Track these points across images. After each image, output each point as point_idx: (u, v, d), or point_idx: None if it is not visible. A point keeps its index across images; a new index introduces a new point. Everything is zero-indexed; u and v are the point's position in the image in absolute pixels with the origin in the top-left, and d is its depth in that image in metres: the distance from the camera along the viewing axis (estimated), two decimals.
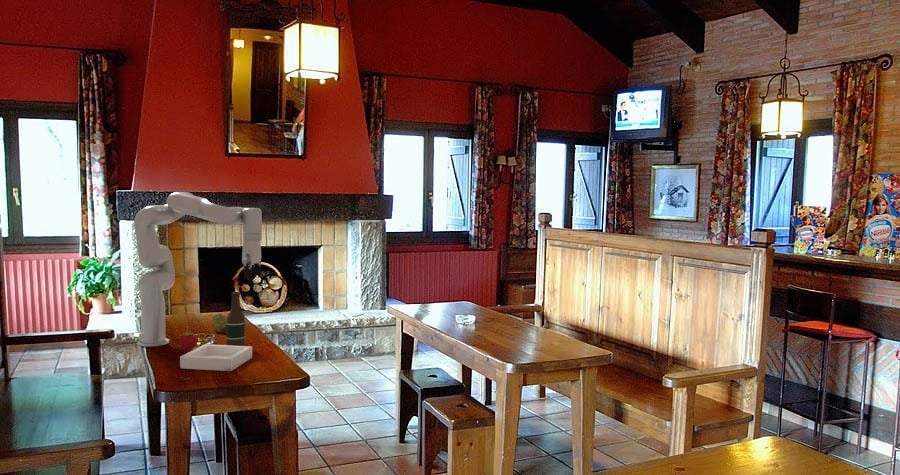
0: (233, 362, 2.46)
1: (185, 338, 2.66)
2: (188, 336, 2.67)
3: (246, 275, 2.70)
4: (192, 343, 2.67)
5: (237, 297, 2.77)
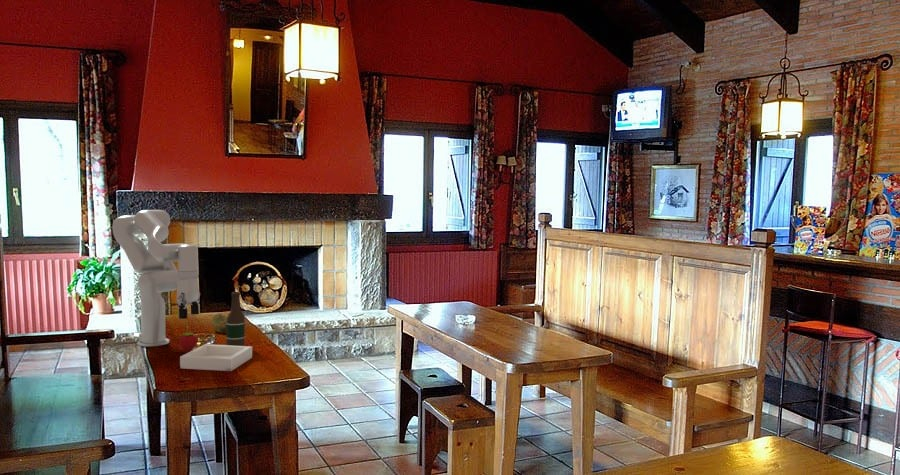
0: (233, 362, 2.46)
1: (185, 338, 2.66)
2: (188, 336, 2.67)
3: (181, 315, 2.62)
4: (192, 343, 2.67)
5: (237, 297, 2.77)
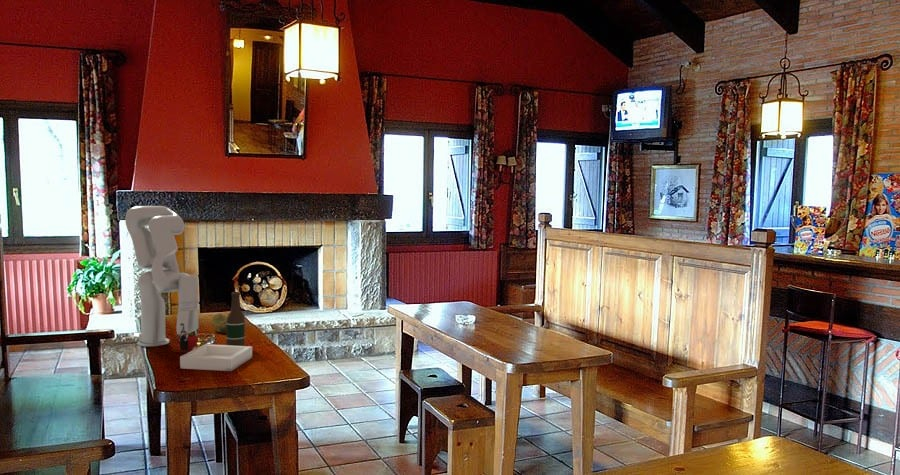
0: (233, 362, 2.46)
1: None
2: (188, 336, 2.67)
3: (182, 347, 2.64)
4: (192, 343, 2.67)
5: (237, 297, 2.77)
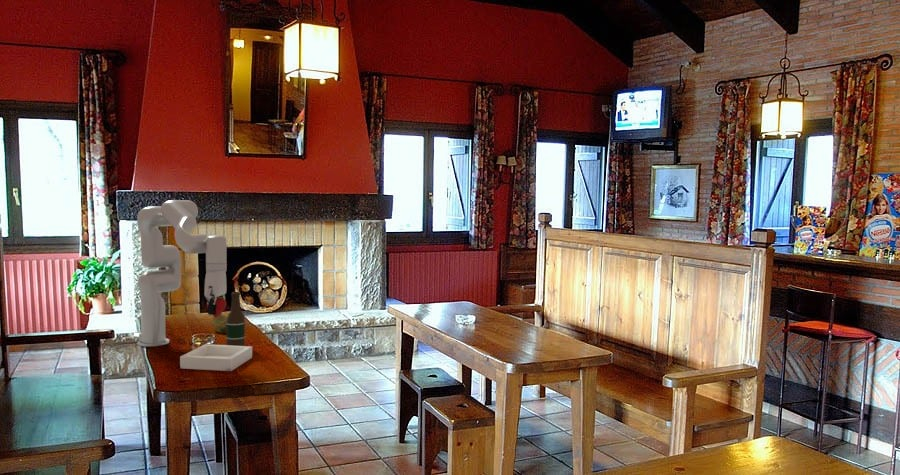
0: (233, 362, 2.46)
1: None
2: (216, 300, 2.52)
3: (210, 311, 2.50)
4: (220, 307, 2.52)
5: (237, 297, 2.77)
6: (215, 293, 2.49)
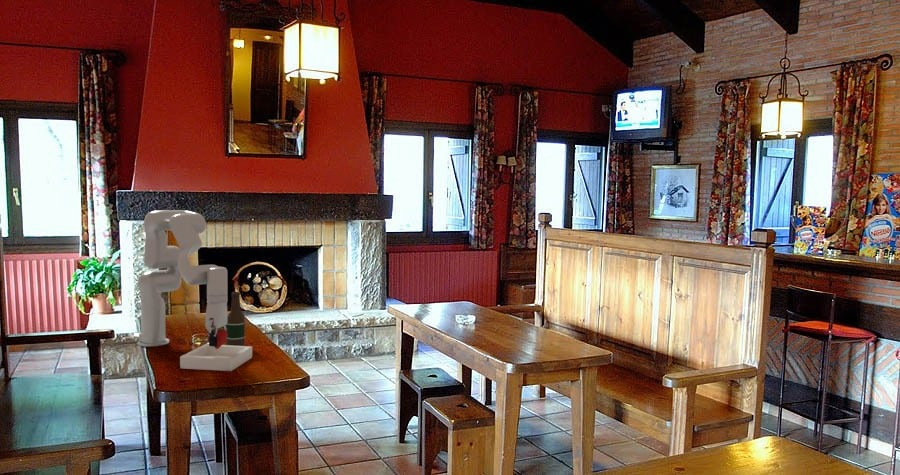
0: (233, 362, 2.46)
1: None
2: (217, 331, 2.53)
3: (211, 342, 2.50)
4: (221, 339, 2.53)
5: (237, 297, 2.77)
6: (216, 325, 2.49)
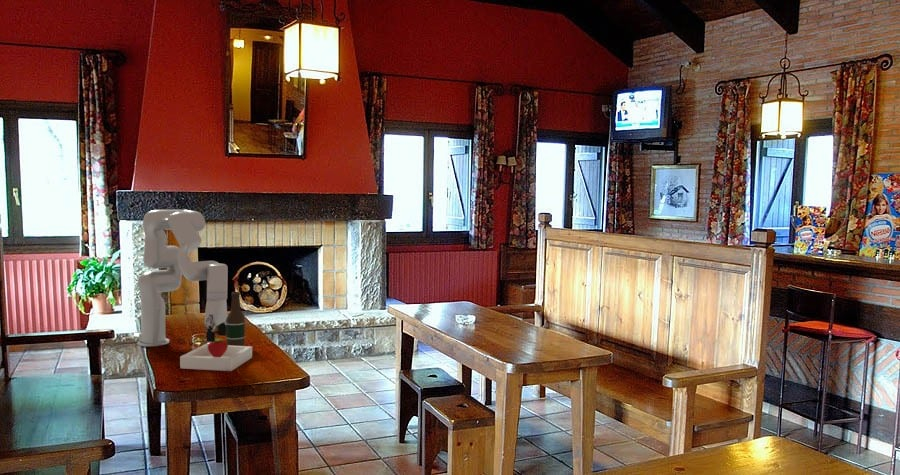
0: (233, 362, 2.46)
1: (214, 344, 2.53)
2: (218, 342, 2.54)
3: (209, 338, 2.49)
4: (221, 350, 2.54)
5: (237, 297, 2.77)
6: (215, 322, 2.50)
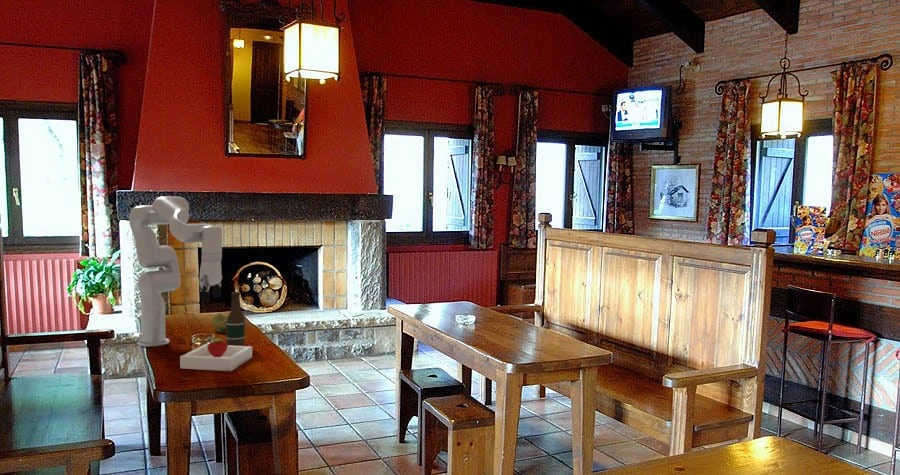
0: (233, 362, 2.46)
1: (214, 344, 2.53)
2: (217, 342, 2.54)
3: (203, 298, 2.54)
4: (221, 350, 2.54)
5: (237, 297, 2.77)
6: (210, 282, 2.54)
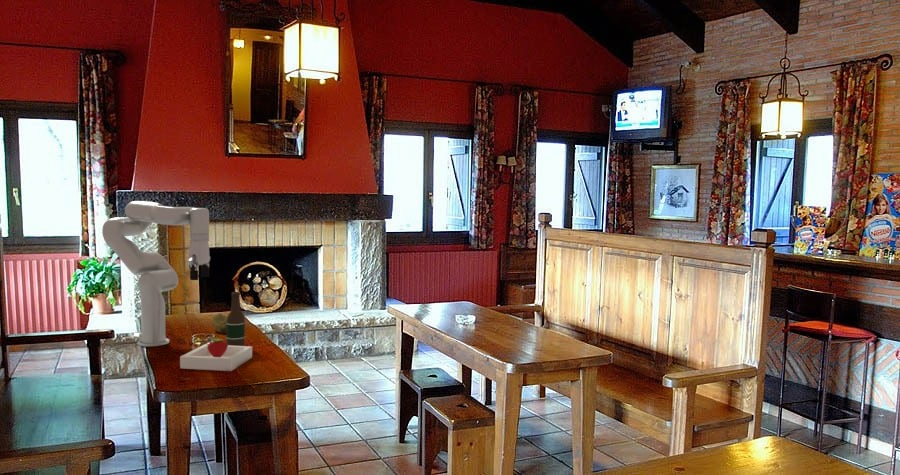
0: (233, 362, 2.46)
1: (214, 344, 2.53)
2: (217, 342, 2.54)
3: (192, 276, 2.67)
4: (221, 350, 2.54)
5: (237, 297, 2.77)
6: (198, 261, 2.67)
